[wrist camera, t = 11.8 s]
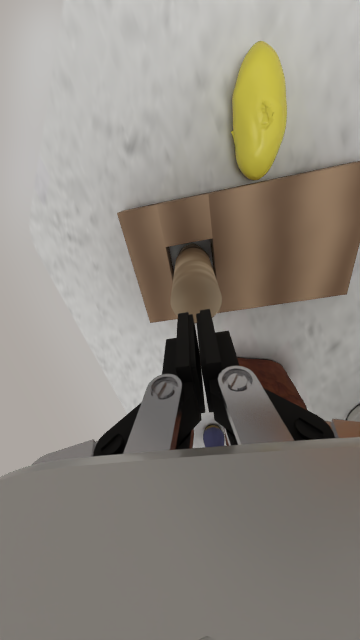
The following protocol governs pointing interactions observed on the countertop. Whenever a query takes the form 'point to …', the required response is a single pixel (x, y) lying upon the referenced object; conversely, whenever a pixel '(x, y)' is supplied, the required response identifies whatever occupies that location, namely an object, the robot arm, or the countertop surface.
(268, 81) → the lemon
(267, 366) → the wooden figurine
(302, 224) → the board
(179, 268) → the dowel
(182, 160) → the countertop surface
